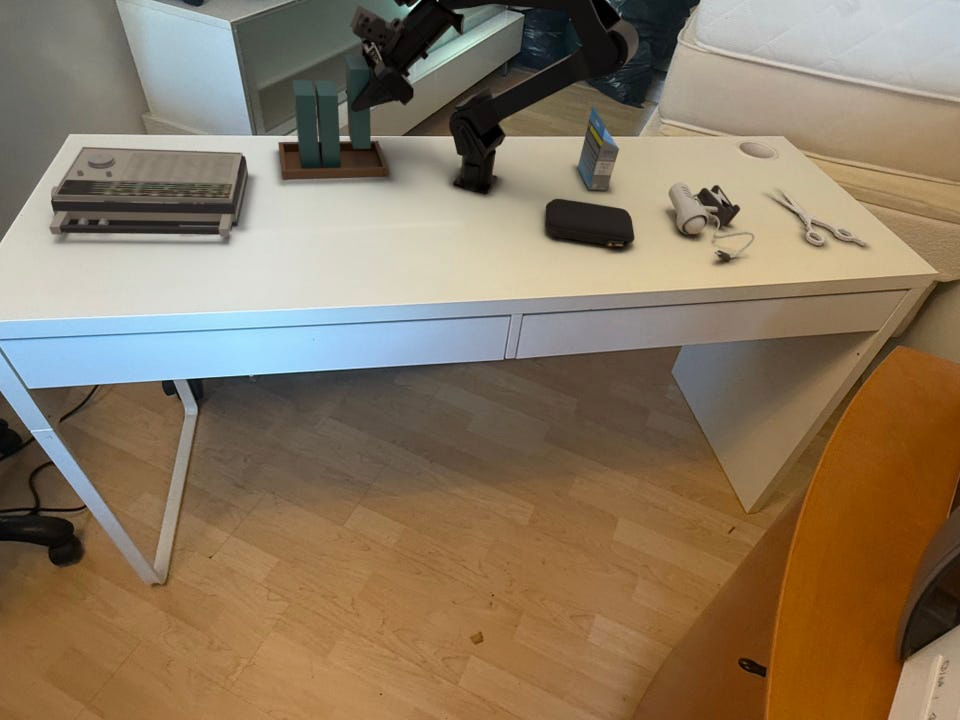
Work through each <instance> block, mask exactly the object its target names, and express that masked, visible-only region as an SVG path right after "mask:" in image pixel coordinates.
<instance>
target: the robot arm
mask: <svg viewBox="0 0 960 720" xmlns="http://www.w3.org/2000/svg"><path fill="white" fill-rule="evenodd" d="M393 1H394V2H395V4H396V6H398V7H403V6H406V7H407V8H409V9H410V8H411V7H413V6H414V7H413V8H412V9H411V10H410V11H409V12H408V13H407V14H406V15H404V17H403V18H402V19H401V18H400V17H399V16H398V17H394V18H393V19H392V20H391V22H389V21H388V20H386V19H384V18H383V17H382V16H380V15H378V14H376V13H375V12H372V11H371V10H368V9H367V8H365V7H364V6H362V5H357V7H356V9H355V12H354V15H353V17H352V19H351V22H350V24H349V26H350V28H351V31H352V32H351V33H353V34H354V35H355V36H356V37H358V38H360V41H361V42H362V44H363V45H362V44H360V45H359V49H360V56H364V58H365V60H366V62H367V65H368V67H369V81H368V83H367V84H366V85H365V87H364V88H363V90H362V91H361V92H360V94H359V95H358V96H357V98H356V99H355V101H354V102H353V104H352V105H351V107H350V108H351V109H352V110H353V111H354V112H358V111H362V110H365V109H368V108H370V109H371V108H374V107H377V106H380V105H384V104H388V103H392V102H400V103H401V104H402V105H403V106H406V105H407V104H408V103H409V102H410V101H412V100H413V99H414V95H415V94H414V93H415V91H414V90H415V89H414V86H413V85H412V83H411V81H410V79H409V76H410V75H411V73H410V71H409V70H410V69H411V67H413V65H415V64H416V63H417V62H418V61H419V59H421V58H422V59H423V60H424V61H425V60H426V59H427V58H428V57H429V53H428V51H429V50H430V49H431V47H433V45H435V44H436V43H437V42H438V40H439V39H440V38H442V37H443V35H445V33H446V32H447V31H448V30H449V29H451V28H454V30H455V31H456V32H457V34H458V35H459V36H463V35H464V24H465V19H466V17H465V14H464V13H457V12H456V11H457V10H466V9H471V8H477V7H483V6H488V5H499V6H508V7H519V8H529V9H539V10H549V11H560V12H565V14H566V15H567V16H568V18H569V20H570V22H571V24H572V26H573V29H574V31H575V33H576V35H577V38H578V40H579V41H580V43H581V46H580V47H579V48H577V49H576V50H575V51H573V53H571V54H569V55H567V56H565V57H564V58H562V59H560V60H558V61H556V62H555V63H552V64H551V65H549V66H547V67H545V68H543V69H542V70H540V71H538V72H536V73H534V74H532V75H531V76H528V77H527V78H525V79H523V80H522V81H520V82H517V83H516V84H514V85H512V86H510V87H509V88H507V89H505V90H503V91H501V92H497V93H496V92H495V93H492V90H491V88H490V86H489V85H488V86H486V87H485V88H484V89H482V90H481V91H479V92H478V93H476V94H472V95H470V96H468V97H467V98H466V99H464V100H463V101H461V102H459V103H458V104H457V105H455V106H454V110H455V111H454V112H452V114H450V117H449V122H448V126H449V127H448V128H449V132H450V134H451V136H452V137H453V143H454V146H455V151H456V154H457V155H458V156H460V157H461V164H460V173H459V174H458V175H457V176H456V177H455V179H454V180H453V182H452V185H453V186H456V187H460V188H464V189H467V190H470V191H474V192H477V193H480V194H481V193H482V194H484V195H485V194H486V195H487V194H489V192H490V191H491V190H492V188H493V187H494V185H495V184H496V182H497V181H498V179H499V177H498V176H497V175H494V167H495V161H496V154H497V151H496V149H497V148H498V147H500V146H501V145H502V144H503V142H504V141H505V139H506V137H507V135H506V133H505V131H504V130H503V128H502V126H501V125H500V124H499V123H501V122H502V121H503V120H504V119H507V118H509V117H511V116H513V115H514V114H517V113H518V112H521V111H522V110H525V109H526V108H529V107H530V106H532V105H534V104H537V103H538V102H540V101H543V100H544V99H546V98H548V97H550V96H551V95H555V94H556V93H559V92H560V91H561V90H564V89H567V88H568V87H570V86H571V85H574V84H575V83H579V82H585V81H592V80H596V79H600V78H604V77H606V76H610V75H613V74H616V73H617V72H619V71H620V70H622V69H623V68H624V66H625V65H626V64H627V63H628V62H629V61H630V60H631V59H632V58H633V57H634V56H635V55H636V54H637V53H636V52H637V51H638V48H639V42H640V41H639V40H640V39H639V34H638V31H637V30H636V28H635V26H634V25H633V24H632V23H630V22H629V21H626V20H623V17H622V16H621V15H620V14H619V12H618V11H617V9H616V8H615V7H614V6H613V5H612V4H611V3H610V2H609V0H393ZM364 45H365V46H364ZM344 92H345V94H346V95H347V88H346V89H345V91H344Z"/></svg>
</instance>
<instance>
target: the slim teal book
mask: <svg viewBox="0 0 960 720" xmlns="http://www.w3.org/2000/svg"><path fill="white" fill-rule="evenodd" d="M344 59H345V60H344V61H345V63H344V64H345V84H346V89H347V94H346V107H347V110H346V111H347V130H348V131H347V132H348V137H349V139H350V140H349V141H351V144H352V147H353V149H370V148H371V141H372V139H371V136H372V135H371V108H368V109H365V110H362V111H358V112H354V111H353V110H352V109H351V108H350V107H351V105H352V104H353V102H354V101H355V99H356V98H357V96H358V95H359V94H360V92H361V91H362V90H363V88H364V87H365V85H366V84H367V83H368V81H369V67H368V65H367V62H366V60H365V58H364V56H361V55H353V54H351V55H348V54H346V55H344Z"/></svg>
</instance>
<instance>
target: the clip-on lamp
mask: <svg viewBox="0 0 960 720" xmlns="http://www.w3.org/2000/svg"><path fill="white" fill-rule="evenodd" d="M668 197H669V199H670V202H671V203H672V206H673V208H674V211H675V212H676V225H677V227H678V229H679V231H680V232H681V233H682V234H685V235H696V234H698V233H701V232H702V231H703V230H704V228H705V227H706V226H707V225H708V223H709V218H710V219H715V222H714V226H715V227H716V229H715V231H714V233H713V238H714V239H726V238H730V237H736V236H742V235H750V236H751V239H750V241H748V243H747V244H746V245H745V246H743V247H742V248H741V249H739V250H738V251H737V252H735V253H733V254H731V255H730V254H729V253H727V252H725V251H722V250H720V249H719V250H717V251H714V254H715V255H717V257H718V258H719V259H721V260H725V261H727V262H728V261H730V260H731V259H734V258H735V257H737V256H738V255H741V253H743V252H744V251H745V250H746V249H747V248H748V247H749V246H750V245H751V244H752V243H753V242H754V240H755V237H756V235H755V233H753V232H751V231H740V232H733V233H727V234H721V235H720V234H719V235H716V234H717V233H718V231H719V229H721V228H722V227H723V226H725V227H726V226H729V224H730V223H731V222H732V221H733V219H734V218H735V217H736V216H737V214H738V213H739V212H740V211H741V207H740V205H738V204H734V205H733V204H732V202H731V201H730V200H729V198H728V196H727V195H726V194H725V192H724V191H723V190H722V188H721V186H720V185H718V184H714V185H713V186H712V187H711V189H708V188H707V187H703V188H701V189H700V191H699V192H698V193H695V194H692V191H691V190H690V189H689V186H688V185H687V184H686V183H684V182H677V183H675V184H673V185H672V186H671V187H670V188H669V189H668Z"/></svg>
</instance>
